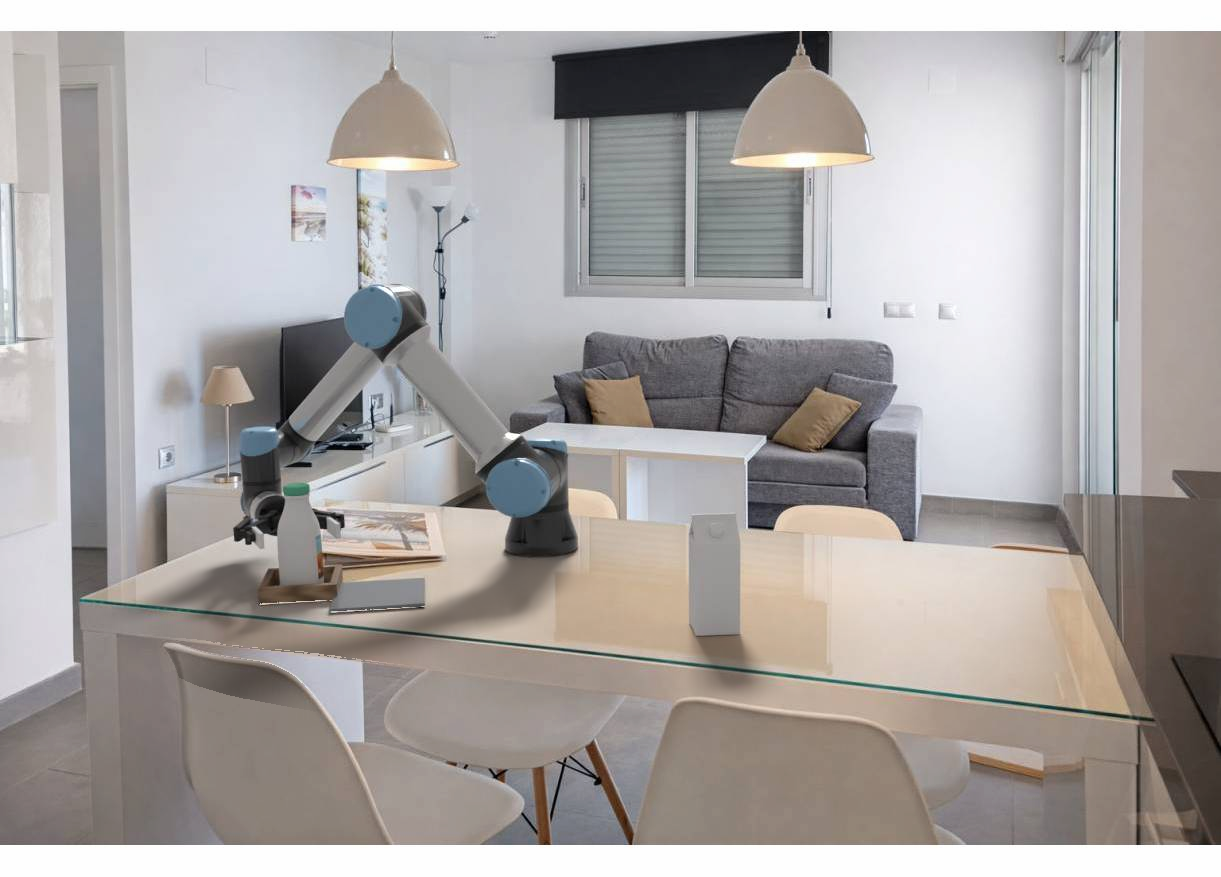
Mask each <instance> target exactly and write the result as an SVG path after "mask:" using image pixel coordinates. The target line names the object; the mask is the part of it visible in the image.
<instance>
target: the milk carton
mask: <svg viewBox="0 0 1221 877" xmlns="http://www.w3.org/2000/svg"><path fill="white" fill-rule="evenodd" d="M737 522H738V521H737V513H736V512H723V513H718V512H717V513H694V514H691V523H690V527H689V530H688V622H689V624H690V626H691V629H692V631H693V632H694V635H695V637H705V636H706V637H707V636H728V635H740V634H741V537H740V533H739V527H738V523H737Z"/></svg>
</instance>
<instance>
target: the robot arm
mask: <svg viewBox="0 0 1221 877" xmlns="http://www.w3.org/2000/svg"><path fill="white" fill-rule="evenodd" d="M426 306H427V305H426V303H425V301H424V299H423V297H422V296H421V295H420V294H419V293H418V291H416V290H415V289H414V288H412V287H411V286H408V285H406V284H400V283H391V284H384V285H383V284H371V285H368V286H366V287H363V288H361V289H358V290H357V291H355V292H354V293H353V294H352V296H350V298H349V299H348V301H347V303H346V305H345V308H344V314H343V315H344V316H343V323H344V328H345V330H346V332H347V334H348V336H349V338H350V339H351V340H352V341H353V343H352V344H351V345H350V346H349V347H348V349H347V350H346V351H345V352H344V353H343V355H342V356H341V357H340V358H339V359H338V360H337V361H336V363H335V364H334V365H333V366H331V369H329V371H328V372H326V374H325V375H324V376H323V377H322V379H321V380H320V381H319V382H318V383H317V385H315V387H314V388H313V389H312V390H311V391H310V393H308V395H307V396H306V397H305V399H303V401H302V402H301V403H300V404H299V405H298V406H297V408H296V409H295V410H294V411H293V413H292V414H291V415H290V416H289V418H288V419H287V420H286V421H285V422H284V423H283V424H282V425H281V426H280V427H279V428H278V429H277V428H276V427H274V426H253V427H248V428H247V427H246V428H243V429H242V430H241V432H240V434H239V447H238V450H239V457H240V468H241V481H242V484H241V485H242V492H241V495H240V498H239V504H240V508H241V511H242V512H243V513H244V515H245V516H243V518H242V520H241V521H240V522H239V523H237V524H236V525H235V526H234V527H233V528H232V530H233V541H234V542H236V543H238V542H241V541H243V539H244V544H245V546H250V545H252V544H253V543H254V544H255V545H256V546H257V548H258V549H259V550H264V549H265V535H269V536H272V537H277V530H278V524H279V521H280V518H281V515H282V513H283V510H284V506H285V498H284V494H283V487H282V474H281V473H282V470H281V469H282V468H284V467H287V466H290V465H292V464H294V463H295V464H296V463H299V462H301V461H304V460H305V459H306V458H307V457H309V456H310V455H311V454H312V452H313V451H314V447H315V444H316V442H317V441H318V440H319V439H320V438H321V436H323V434H324V433H325V432H326V431H327V430H328V428H329V427H330V426H332V424H333V423H334V422H335V420H336V419H338V417H339V416H340V415H341V413H342V412H344V410H345V409H346V408H347V407H348V406H349V405H350V403H351V402H352V401H353V400H354V399H355V398H356V397H357V396H358V394H359V393H360V392H361V391H362V390H363V389H364V388H365V387H366V385H367V384H368V383H369V382H370V381H371V379H373V377H375V375H376V374H377V373H378V372H379V371H380V370H381V369H382V368H383V366H389V367H395V368H397V370H398V371H399V372H400V374H401V375H402V376H403V377H404V378H405V379H406V381H407V382H408V383H409V384H410V385H411V386H412V387H413V389H414V390H415V392H417V393H418V395H419V396H420V397H421V399H423V401H424V402H425V403H426V405H427V406H429V408H430V409H431V410H432V411H433V412H434V414H435V415H436V416H437V417H438V418H439V419H440V421H441V422H442V424H443V425H444V426H445V427H446V428H447V430H449V431H450V432H451V435H453V436H454V437H455V439H457V441H458V442H459V443H460V444H461V446H462V447H463V448H464V449H465V450H466V452H467V453H468V454H469V455H470V456H471V458H472V459H473V460H474V461H475V468H474V472H475V473H474V474H476V476H477V477H478V479H480V481H481V482H482V483H483V484H484V485H485V492H486V496H487V499H488V500H489V503H490V504H491V505H492V507H493V508H494V509H495V510H497V511H498V512H499V513H501V514H502V515H505V516H506V517H509V518H510V519H509V520H510V521H509V523H508V527H507V531H506V534H505V538H504V549H505V551H506V552H508V553H509V554H513V555H516V556H521V557H522V556H523V557H531V558H532V557H533V558H534V557H537V558H539V557H541V558H542V557H552V556H560V555H561V556H562V555H566V554H569V553H572V552H575V551H576V550H577V549H578V547H579V541H578V540H579V538H578V533H577V530H576V527H575V524H574V522H573V519H572V516H571V513H570V509H569V506H570V505H569V502H570V501H569V452H568V450H569V449H568V444H567V442H566V440H563V439H561V438H525V437H524V436H523V435H522V434H521V433H513V432H509V430H508V429H507V428H506V427H505V426H504V424H503V422H501V421H500V419H498V417H497V416H496V415H495V414H494V412H493V411H492V410H491V408H489V407H488V405H487V404H486V403H485V401H484V400H483V399H482V398H481V397H480V395H478V393H477V392H476V391H475V390H474V389H473V387H472V386H471V385H470V384H469V383H468V382H467V381H466V379H465V378H464V377H463V376H462V374H461V373H460V372H459V371H458V370H457V369H456V367H455V366H454V365H453V364H452V363H451V361H450V360H449V359H448V358H447V357H446V355H445V354H444V353H443V352H442V351H441V349H440V348H439V347H438V346H437V345H436V343H435V342H434V341H433V340H432V339H431V329H432V327H431V326H430V325H429V323H428V322H427V316H428V315H427V313H428V312H427V307H426ZM311 508H312V510H313V512H314V514H315V515H316V517H317V519H318V522H319V525H320V530H326V532H327V533H329V534H330V535H331V536H332V537H334V538H335V539H337V540H338V539H341V538H342V537H341V536H342V535H341V531H342V529H344V528H346V525H345V522H346V521H345V514H344V513H337V512H331V511H325V510H319V509H317V508H314V507H311Z"/></svg>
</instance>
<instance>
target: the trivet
mask: <svg viewBox="0 0 1221 877" xmlns="http://www.w3.org/2000/svg"><path fill="white" fill-rule="evenodd" d="M425 578H426V577H416V578H415V577H413V578H412V577H411V578H398V579H397V578H395V579H381V580H380V579H379V580H363V581H348V582H347V581H346V582H345V581H342V583H341V584H340V588H339V592H338V595H337V596H336V597H333V599H332V601H331V603H330V608H329V612H330V611H347V610H365V609H367V610H370V609H372V610H373V609H387V608H402V607H421V606H425V607H426V579H425Z"/></svg>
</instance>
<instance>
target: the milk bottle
mask: <svg viewBox="0 0 1221 877" xmlns="http://www.w3.org/2000/svg"><path fill="white" fill-rule="evenodd" d="M310 491H311V490H310V484H308V483H307V482H292V483H286V484H284V485H283V486H282V495H283V496H284V498H285V506H284V510H283V513H282V515H281V518H280V521H279V524H278V530H277V536H276V537H277V539H276V540H277V557H278V558H277V560H278V568H279V578H280V585H279V586H286V585H303V584H320V583H324V574H323V565H324V561H323V560H324V558H323V546H322V534H321V533H322V532H321V531H322V530H321V529H320V525H319V522H318V519H317V517H316V515H315V514H314V512H313V510H312V508H313V507H312V506H311V503H310V497H311V494H310V493H311V492H310Z"/></svg>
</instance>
